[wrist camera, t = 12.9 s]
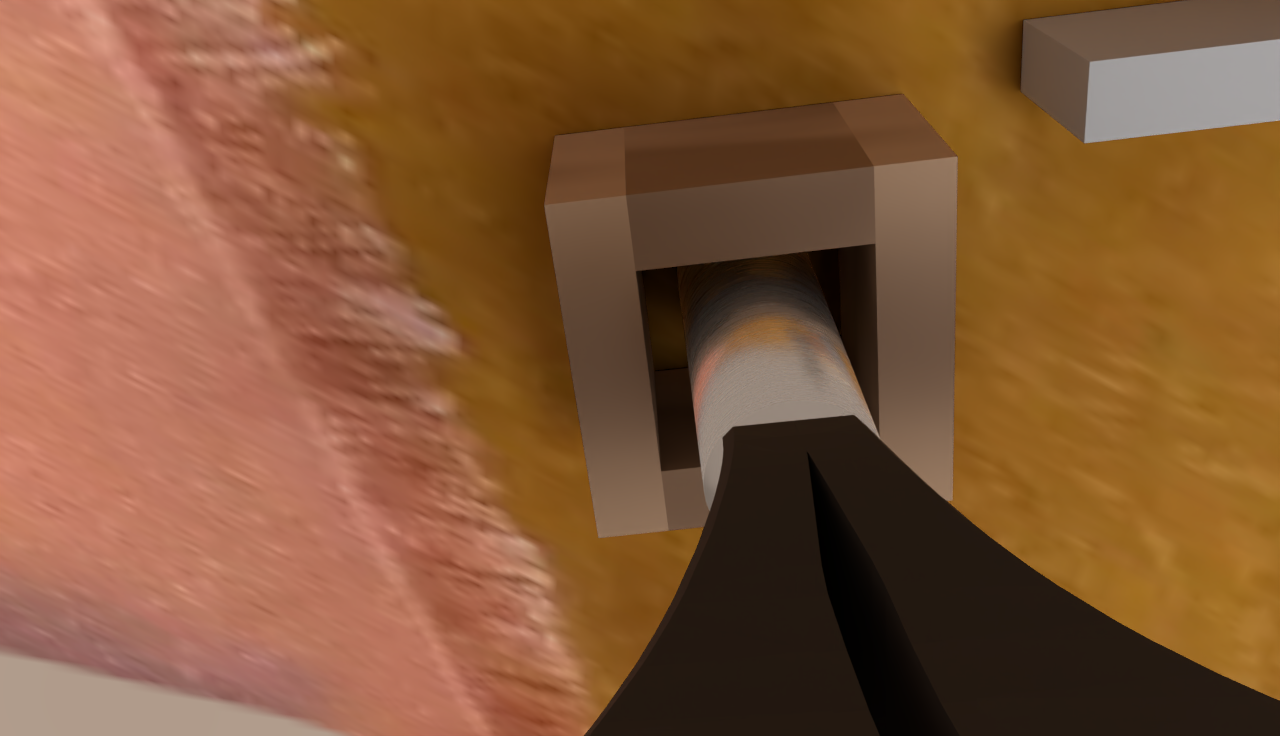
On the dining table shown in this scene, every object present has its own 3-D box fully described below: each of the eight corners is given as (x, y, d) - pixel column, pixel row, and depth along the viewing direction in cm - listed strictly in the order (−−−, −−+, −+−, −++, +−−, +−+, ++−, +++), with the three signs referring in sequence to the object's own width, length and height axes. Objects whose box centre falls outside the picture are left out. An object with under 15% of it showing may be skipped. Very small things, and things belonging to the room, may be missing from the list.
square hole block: (905, 398, 22) (952, 500, 19) (600, 431, 23) (598, 538, 19) (903, 94, 20) (958, 156, 16) (555, 135, 20) (543, 205, 17)
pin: (811, 320, 22) (890, 544, 15) (684, 335, 22) (712, 565, 15) (803, 199, 20) (886, 389, 14) (670, 216, 21) (694, 411, 14)
